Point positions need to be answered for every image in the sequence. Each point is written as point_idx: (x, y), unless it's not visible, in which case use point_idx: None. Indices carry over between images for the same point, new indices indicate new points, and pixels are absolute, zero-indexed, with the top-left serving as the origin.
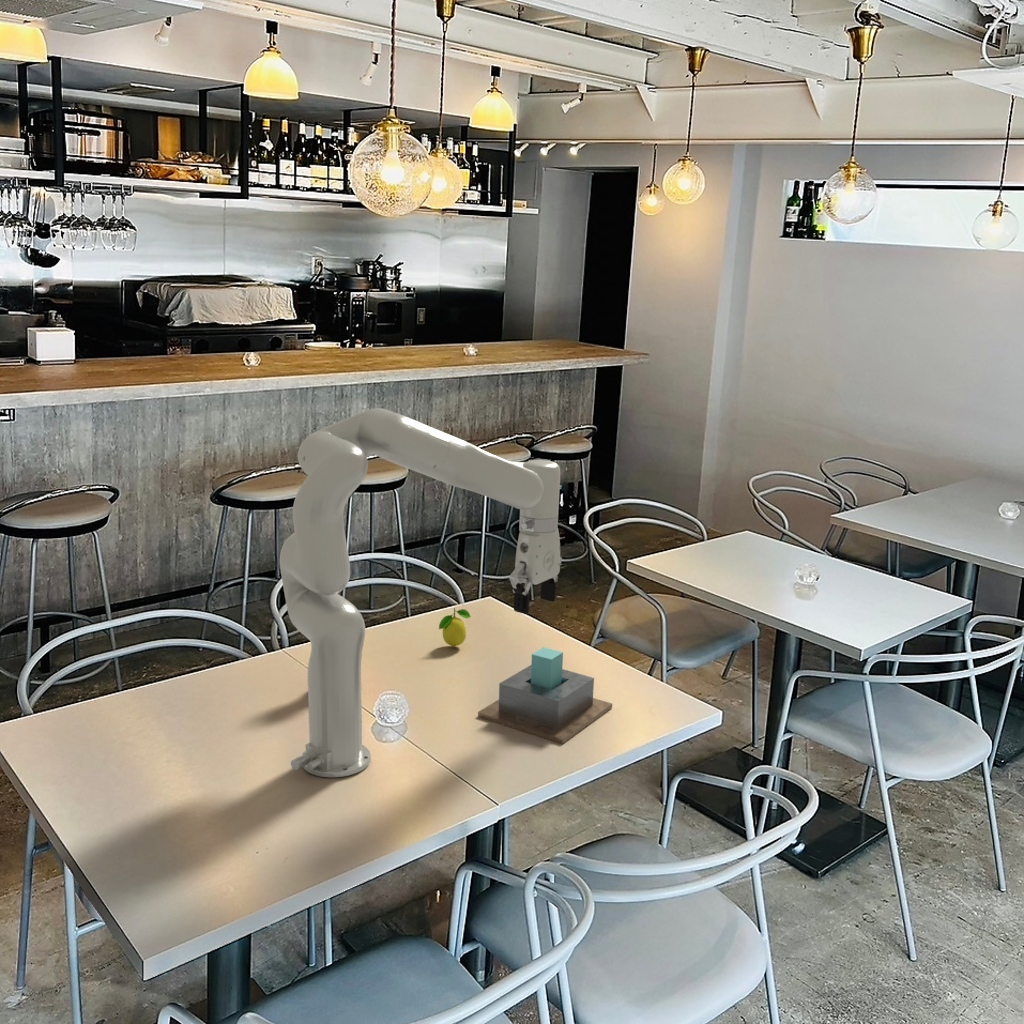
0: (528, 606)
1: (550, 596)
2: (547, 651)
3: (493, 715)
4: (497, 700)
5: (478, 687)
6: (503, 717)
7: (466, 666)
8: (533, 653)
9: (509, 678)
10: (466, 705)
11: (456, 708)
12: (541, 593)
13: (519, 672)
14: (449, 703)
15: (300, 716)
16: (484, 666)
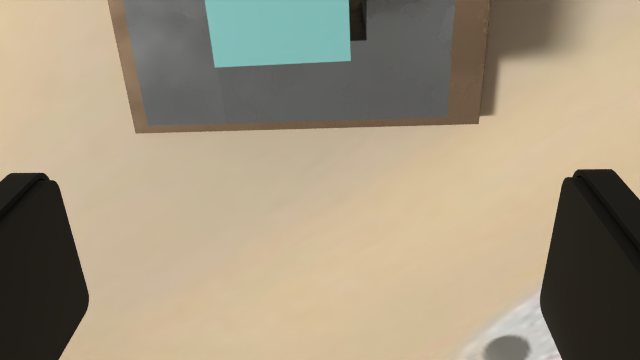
0: (623, 209)
1: (38, 233)
2: (252, 10)
3: (474, 66)
4: (358, 126)
5: (286, 235)
6: (469, 27)
7: (191, 335)
8: (335, 59)
9: (375, 113)
10: (421, 190)
11: (458, 200)
12: (66, 336)
13: (293, 117)
14: (439, 234)
15: None
16: (151, 302)
